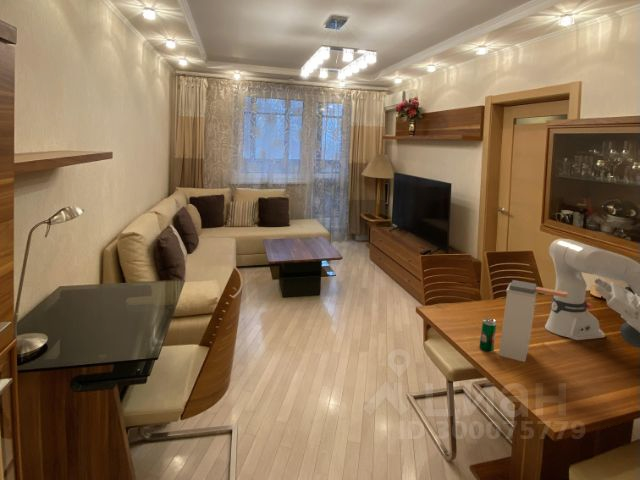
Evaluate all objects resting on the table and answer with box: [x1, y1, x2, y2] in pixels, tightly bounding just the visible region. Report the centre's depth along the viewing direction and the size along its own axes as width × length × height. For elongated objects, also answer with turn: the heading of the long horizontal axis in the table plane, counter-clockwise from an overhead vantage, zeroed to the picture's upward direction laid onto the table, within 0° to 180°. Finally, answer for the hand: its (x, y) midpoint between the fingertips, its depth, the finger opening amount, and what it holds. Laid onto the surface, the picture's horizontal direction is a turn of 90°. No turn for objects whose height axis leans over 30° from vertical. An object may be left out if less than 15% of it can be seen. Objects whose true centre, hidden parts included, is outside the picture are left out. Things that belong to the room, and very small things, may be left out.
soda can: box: [478, 317, 497, 353], centre depth 161 cm, size 5×5×12 cm
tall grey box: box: [498, 282, 538, 363], centre depth 156 cm, size 10×10×26 cm
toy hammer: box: [509, 279, 567, 298], centre depth 151 cm, size 18×8×2 cm, turn 59°
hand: (596, 283), depth 141 cm, fingers open, 8 cm apart
